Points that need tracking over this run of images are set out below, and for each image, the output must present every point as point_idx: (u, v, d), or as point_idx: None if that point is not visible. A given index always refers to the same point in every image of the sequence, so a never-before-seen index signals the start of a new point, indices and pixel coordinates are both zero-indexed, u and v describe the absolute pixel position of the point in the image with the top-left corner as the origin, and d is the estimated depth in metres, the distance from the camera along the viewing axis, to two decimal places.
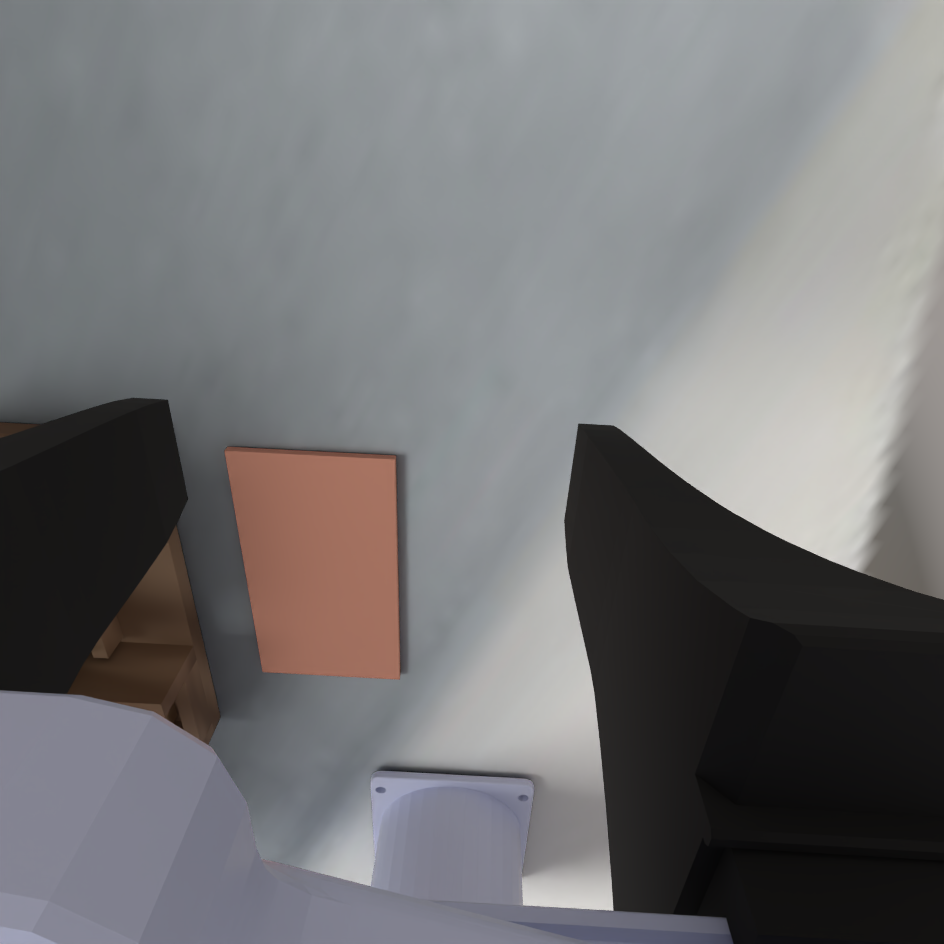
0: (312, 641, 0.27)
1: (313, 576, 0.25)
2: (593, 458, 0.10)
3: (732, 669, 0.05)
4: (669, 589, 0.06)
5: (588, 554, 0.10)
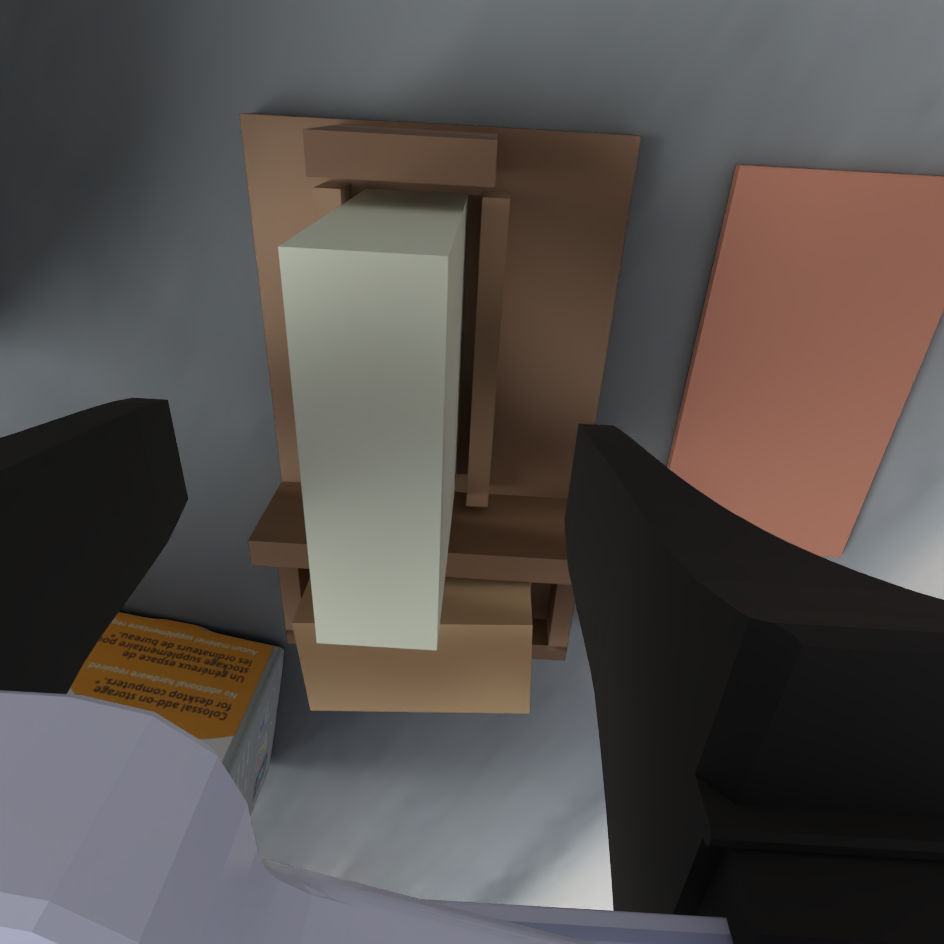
0: (741, 497, 0.20)
1: (786, 390, 0.18)
2: (593, 458, 0.10)
3: (732, 669, 0.05)
4: (669, 589, 0.06)
5: (588, 554, 0.10)
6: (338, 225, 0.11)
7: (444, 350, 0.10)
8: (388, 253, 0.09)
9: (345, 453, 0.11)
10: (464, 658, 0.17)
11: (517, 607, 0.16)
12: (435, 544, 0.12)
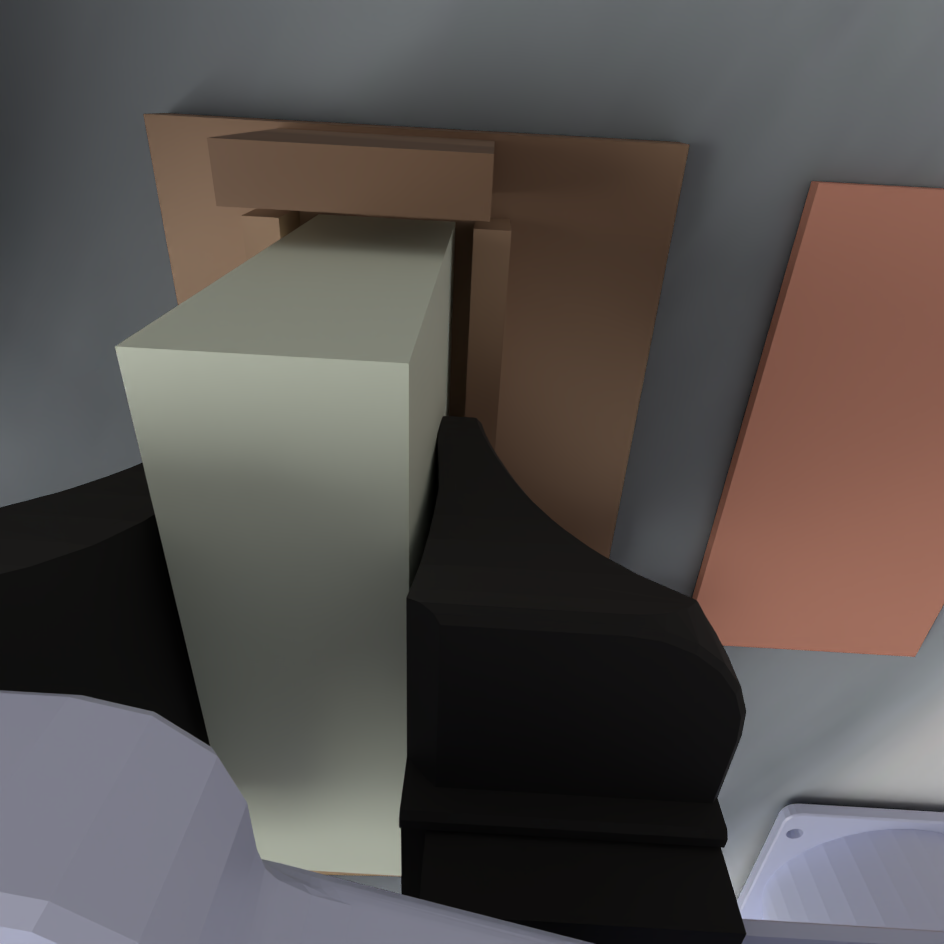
0: (798, 589, 0.16)
1: (861, 464, 0.14)
2: (437, 449, 0.10)
3: (410, 650, 0.05)
4: None
5: None
6: (247, 289, 0.07)
7: (406, 505, 0.06)
8: (305, 358, 0.05)
9: (257, 643, 0.07)
10: None
11: None
12: (402, 757, 0.08)
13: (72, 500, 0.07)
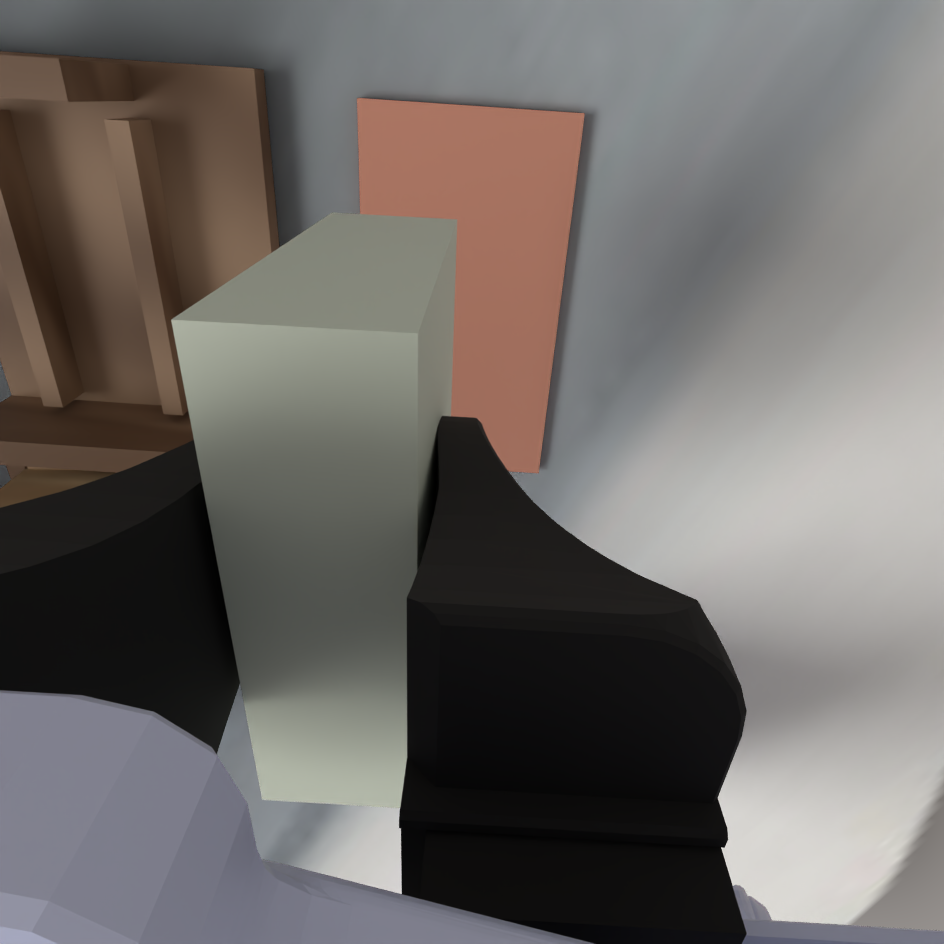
0: None
1: None
2: (438, 449, 0.10)
3: (410, 651, 0.05)
4: None
5: None
6: (275, 275, 0.08)
7: (415, 458, 0.07)
8: (331, 328, 0.06)
9: (285, 585, 0.08)
10: None
11: None
12: None
13: (72, 500, 0.07)
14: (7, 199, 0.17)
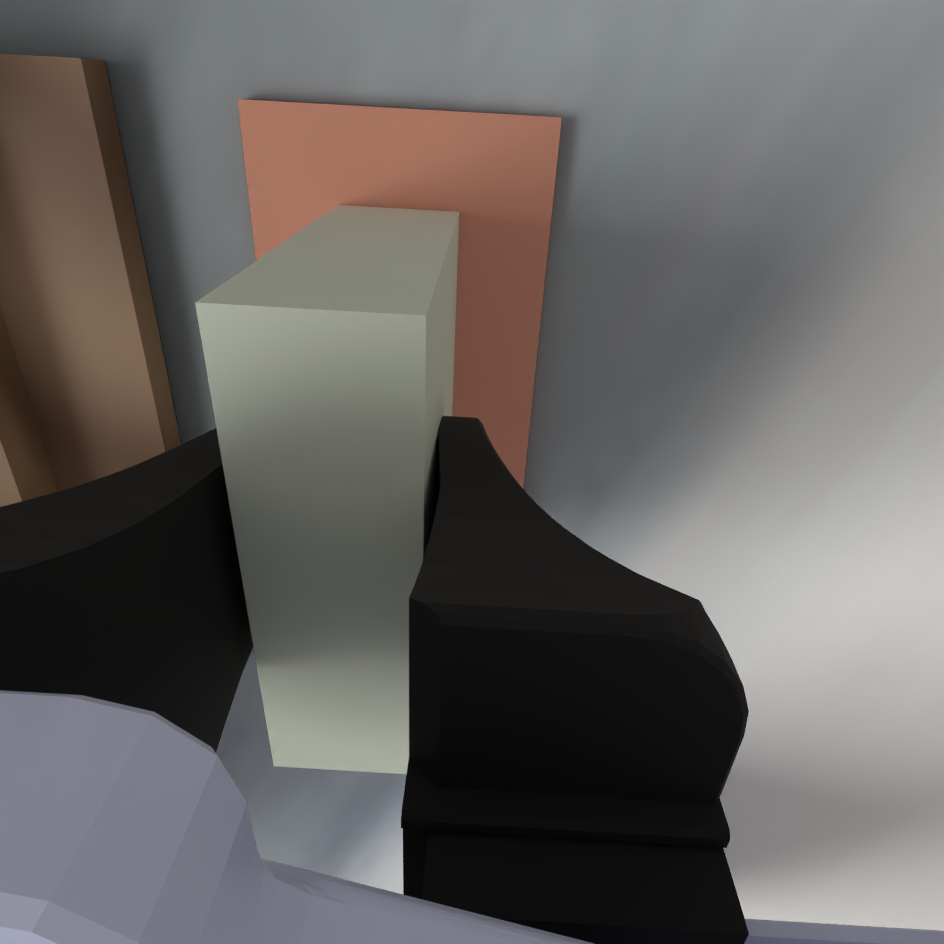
0: None
1: None
2: (439, 449, 0.10)
3: (412, 650, 0.05)
4: None
5: None
6: (288, 263, 0.08)
7: (422, 434, 0.07)
8: (344, 311, 0.07)
9: (297, 556, 0.08)
10: None
11: None
12: None
13: (71, 500, 0.07)
14: None
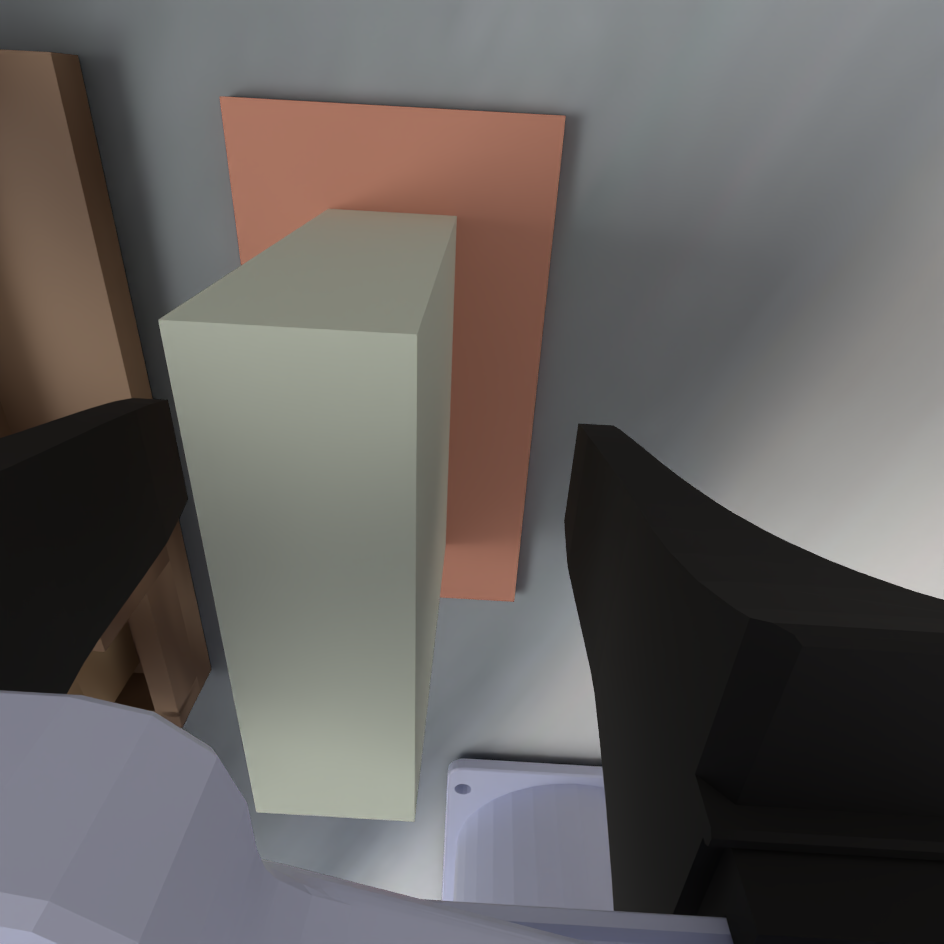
0: None
1: None
2: (593, 458, 0.10)
3: (732, 669, 0.05)
4: (669, 589, 0.06)
5: (588, 554, 0.10)
6: (268, 273, 0.08)
7: (414, 464, 0.07)
8: (326, 329, 0.06)
9: (278, 595, 0.08)
10: None
11: None
12: (408, 703, 0.08)
13: None
14: None
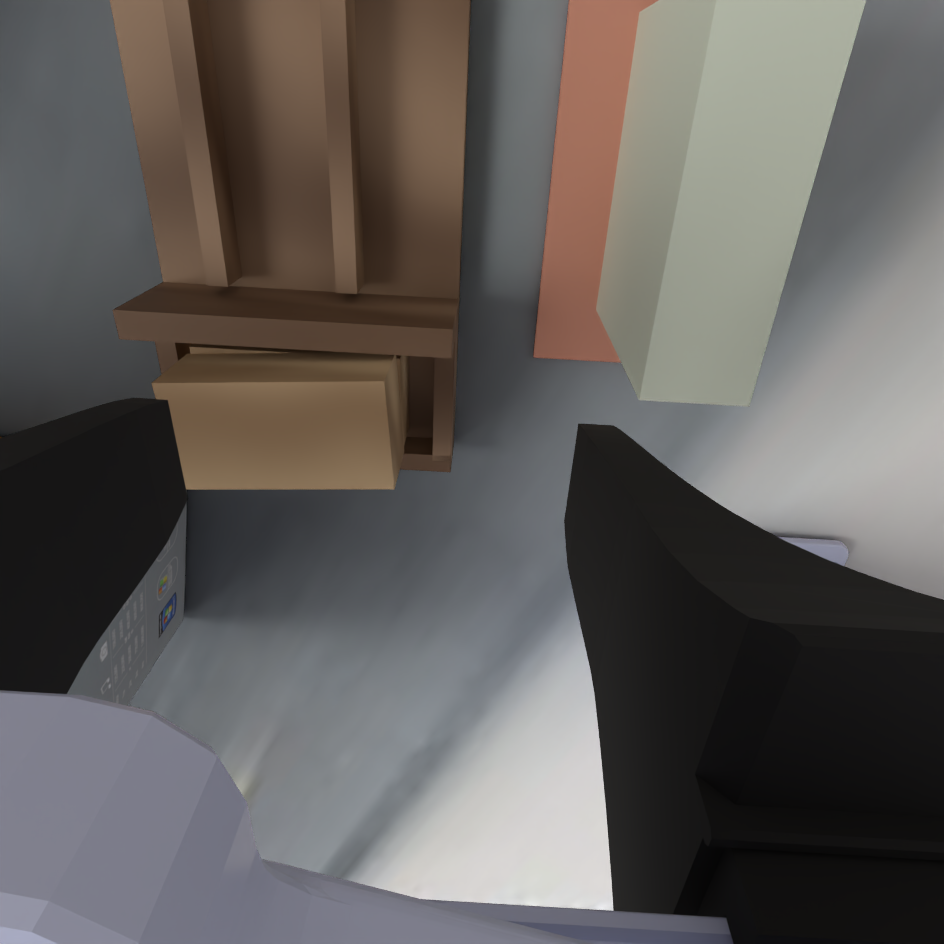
0: None
1: None
2: (593, 458, 0.10)
3: (732, 669, 0.05)
4: (669, 589, 0.06)
5: (588, 554, 0.10)
6: None
7: (845, 69, 0.11)
8: None
9: (723, 185, 0.12)
10: (323, 423, 0.17)
11: (374, 371, 0.17)
12: (779, 285, 0.13)
13: None
14: (195, 36, 0.16)
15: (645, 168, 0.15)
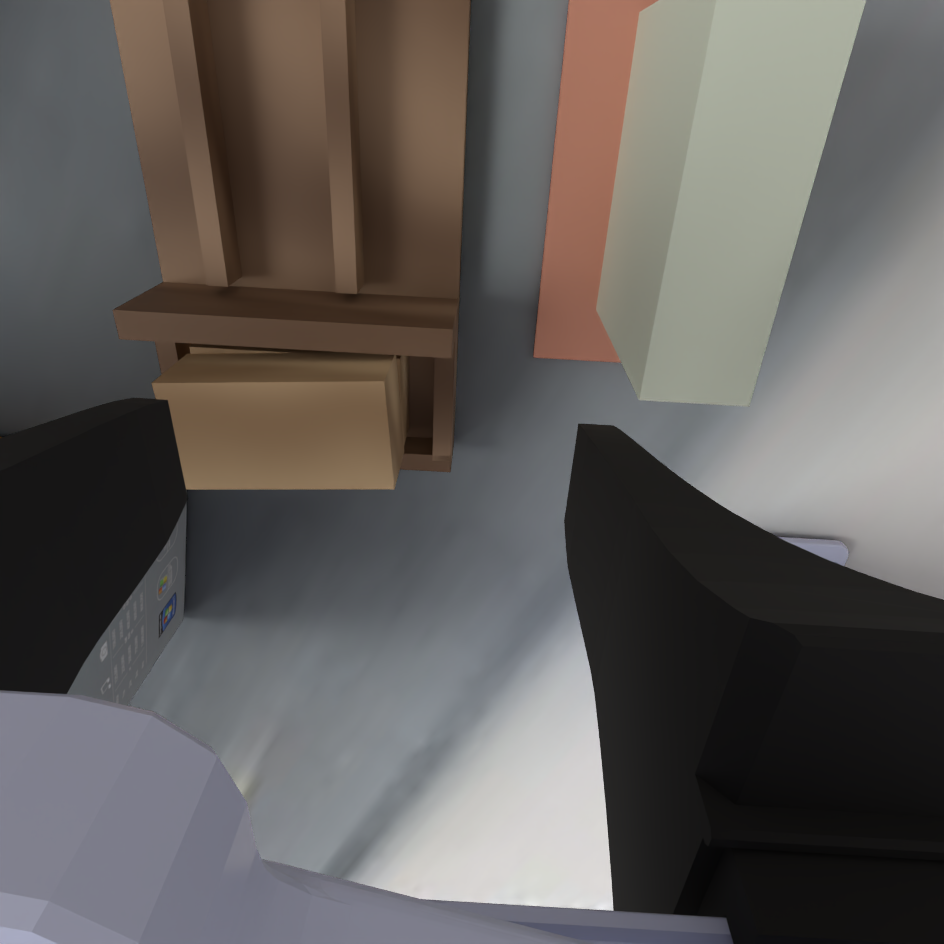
0: None
1: None
2: (593, 458, 0.10)
3: (732, 669, 0.05)
4: (669, 589, 0.06)
5: (588, 554, 0.10)
6: None
7: (845, 69, 0.11)
8: None
9: (723, 185, 0.12)
10: (323, 423, 0.17)
11: (374, 371, 0.17)
12: (779, 285, 0.13)
13: None
14: (195, 36, 0.16)
15: (645, 168, 0.15)
